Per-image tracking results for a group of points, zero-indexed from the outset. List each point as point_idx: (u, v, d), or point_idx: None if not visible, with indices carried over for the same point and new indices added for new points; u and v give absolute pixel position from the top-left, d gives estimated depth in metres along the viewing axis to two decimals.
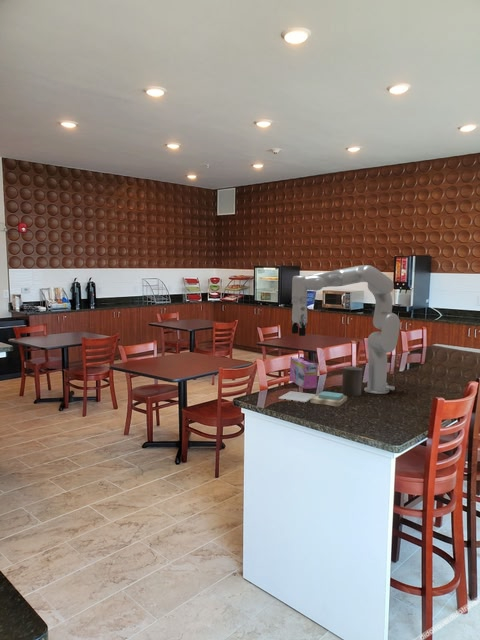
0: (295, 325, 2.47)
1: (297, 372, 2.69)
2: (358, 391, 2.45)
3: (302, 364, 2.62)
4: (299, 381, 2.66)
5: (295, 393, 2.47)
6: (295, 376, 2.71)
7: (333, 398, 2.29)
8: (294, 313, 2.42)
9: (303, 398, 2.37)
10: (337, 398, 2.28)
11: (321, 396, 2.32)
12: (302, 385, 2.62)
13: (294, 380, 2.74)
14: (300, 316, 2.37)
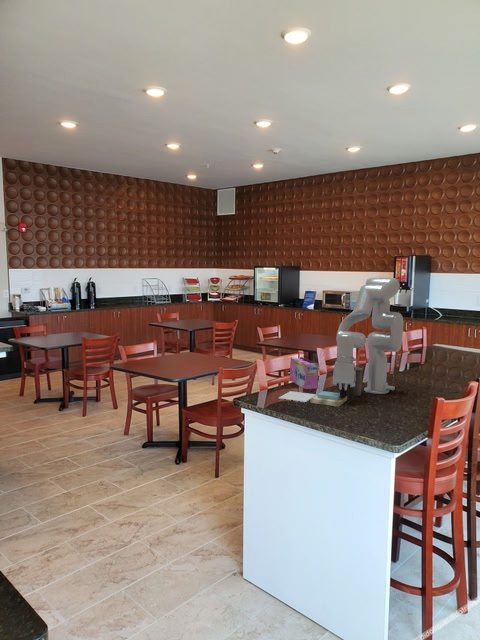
0: None
1: (298, 372, 2.68)
2: (358, 391, 2.45)
3: (303, 364, 2.61)
4: (300, 381, 2.65)
5: (295, 393, 2.47)
6: (296, 377, 2.70)
7: (332, 398, 2.29)
8: (343, 374, 2.28)
9: (303, 398, 2.37)
10: (336, 398, 2.28)
11: (320, 396, 2.32)
12: (303, 385, 2.61)
13: (294, 380, 2.73)
14: None
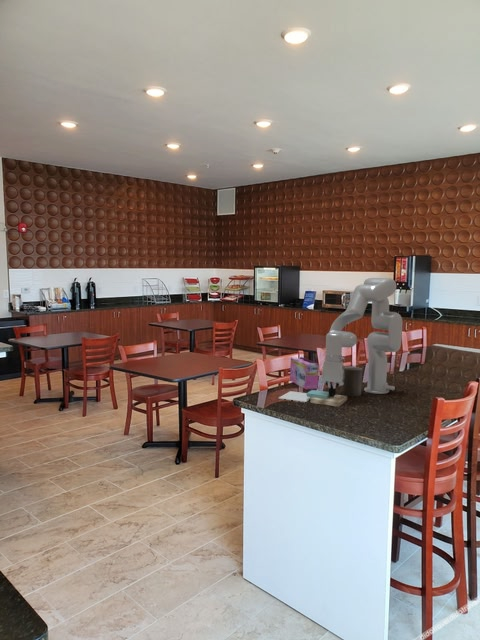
0: None
1: (298, 373, 2.67)
2: (358, 391, 2.45)
3: (303, 364, 2.61)
4: (300, 381, 2.65)
5: (295, 393, 2.47)
6: (296, 377, 2.70)
7: (321, 396, 2.32)
8: (331, 372, 2.30)
9: (303, 398, 2.37)
10: (325, 396, 2.31)
11: (309, 395, 2.34)
12: (303, 385, 2.61)
13: (295, 380, 2.73)
14: None
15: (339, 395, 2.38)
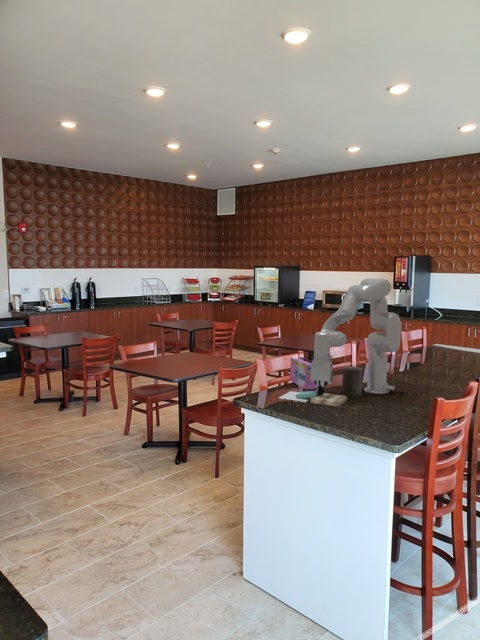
0: (320, 384, 2.36)
1: (298, 373, 2.67)
2: (358, 391, 2.45)
3: (303, 364, 2.61)
4: (300, 381, 2.65)
5: (295, 393, 2.47)
6: (296, 377, 2.70)
7: (310, 396, 2.34)
8: (320, 371, 2.33)
9: (303, 398, 2.37)
10: (313, 395, 2.33)
11: (298, 396, 2.36)
12: (303, 386, 2.61)
13: (295, 381, 2.72)
14: (329, 379, 2.32)
15: (339, 395, 2.38)
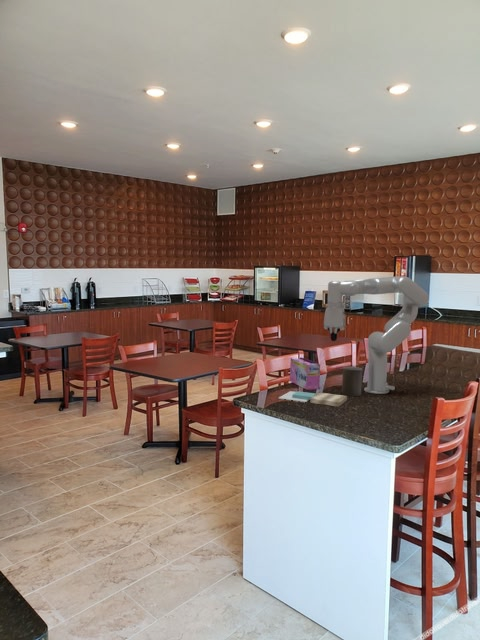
0: (333, 331, 2.50)
1: (299, 373, 2.66)
2: (358, 391, 2.45)
3: (304, 365, 2.60)
4: (301, 382, 2.64)
5: None
6: (297, 377, 2.69)
7: (306, 398, 2.35)
8: (333, 318, 2.47)
9: None
10: None
11: (295, 396, 2.37)
12: (304, 386, 2.60)
13: (295, 381, 2.71)
14: None
15: (339, 395, 2.38)
